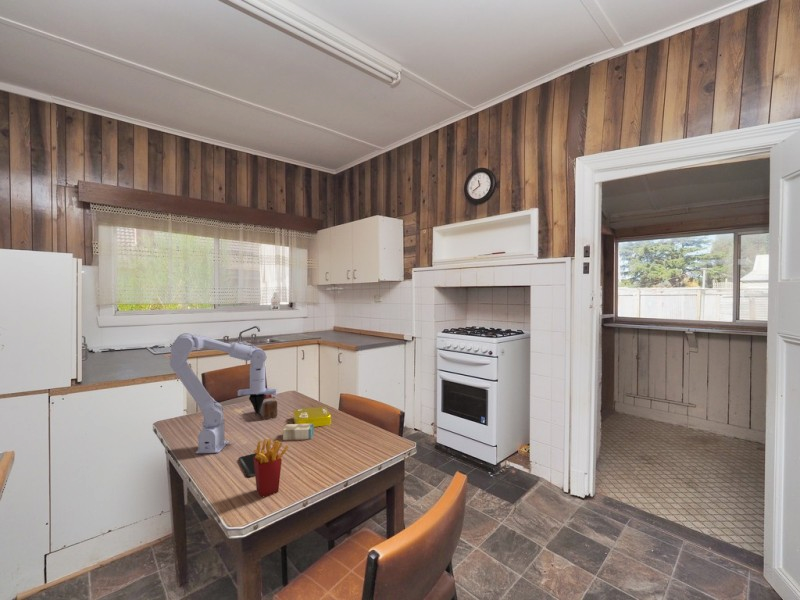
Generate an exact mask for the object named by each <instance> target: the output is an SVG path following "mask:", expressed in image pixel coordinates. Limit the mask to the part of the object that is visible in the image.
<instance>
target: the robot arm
mask: <svg viewBox="0 0 800 600" xmlns="http://www.w3.org/2000/svg"><path fill="white" fill-rule="evenodd" d="M194 348H195V350H196V351H198V350H200V349H205V348H206V349H211V350H215V351H219V352H225V353H228V356H229V357H231V358H233V359H239V360H241V361H245V362H248V361H250V362H249V366H250V367H249V388H244V389H239V390H237V396H238V397H240V396H249V397H248V399H249V402H250V403H251V405H252V407H253V410H254V414H255V415H260V411H261V406H262V403H263V400H264V398H265V396H266V395H272V396H277V395H278V388H266V366H265V365H266V361H267V354H266V352H265V351H264V349H262V348H261V347H259V346H255V345H248V344H244V343H243V342H242V341H237V342H233V343H231V344H230V343H228V342H227V343H226V342H224V341H221V340H217V339H213V338H210V337H207V336H204V335H200V334H191V333H187V332H183V333H181V334H179V335H178V336H177V337H176V339H175V340H174V342H173V343H172V345H171V348H170V359H169V366H170V368H171V369H172V371H173V372H174V373H175V375H176V376H177V378H178V379H179V380H180V382H181V384H182V385H183V386H184V387H185V389H186V390H187V391H188V393H189V395H190V396H191V397H192V399H193V400H194V401H195V403H196V405H198V408H199V410H200V413H201V414H202V416H203V422H202V428H201V431H200V432H199V434H198V438H197V439H198V440H197V441H198V442H197V443H198V444H197V445H198V448H197V450H196V451H195V454H218V453H220V452H221V451H222V450H223V448H224V447H225V446H226V445H228V443H229V440H225V419H224V413H223V410H224V406H223V405H222V404H221V403H220V402H218V401H216V400H215V399H214V398H213V397H212V396H211V395H210V393H209V391H208V390H207V389H206V388H205V386H204V384H203V383H202V382H201V380H200V379H199V378H198V376H197V374H196V373H195V372H194V370H193V369H192V368H191V366H190V364H189V363H188V362H187V361H188V358H189V356H190V354H191V353H192V351H193V350H194Z"/></svg>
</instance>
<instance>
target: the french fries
mask: <svg viewBox="0 0 800 600" xmlns="http://www.w3.org/2000/svg"><path fill="white" fill-rule="evenodd" d="M261 445H262V447H261ZM271 445H272V448H271ZM282 445H283V442H281V441H280V440H274V441H273V443H272V439H271V438H270V439H263V441H257V445H256V449H254V450H253V453H256V456H254V457H253V459H254V469H255V477H254V478H255V486H256V491H258V492H257V494H258V495H259V498H261V497H262V498H264V497H263V496H265V497H267V496H266V495H268V496H271V495H274V494H273V493H275V494H277V493H276V492H278V493H279V488H280V482H281V481H280V479H281V469H282V463H283V460H282V457H283V456H284V455H285V454H286V452H287V451H288V449H289V448H290V446H288V445H286V446H285V447H284V449H283V450H282V452H281V453H280V454H278V453H279V451H280V449H281V447H282ZM265 449H266V450H265ZM260 452H261V453H260ZM270 494H271V495H270Z"/></svg>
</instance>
